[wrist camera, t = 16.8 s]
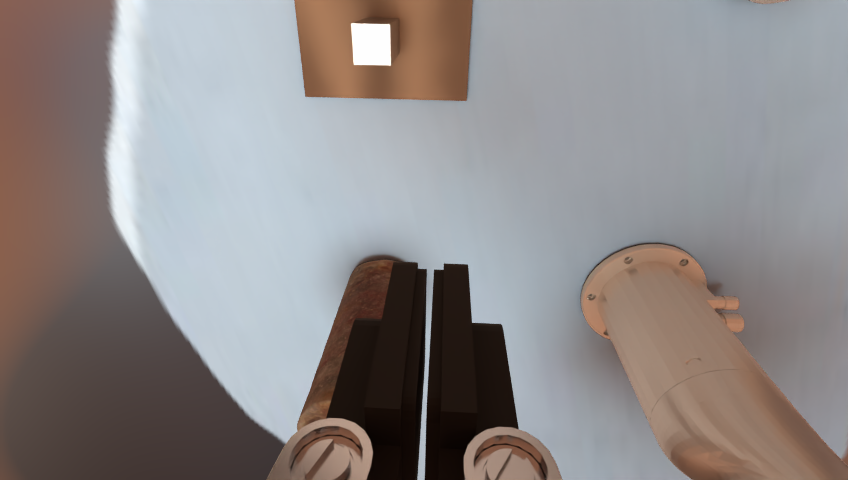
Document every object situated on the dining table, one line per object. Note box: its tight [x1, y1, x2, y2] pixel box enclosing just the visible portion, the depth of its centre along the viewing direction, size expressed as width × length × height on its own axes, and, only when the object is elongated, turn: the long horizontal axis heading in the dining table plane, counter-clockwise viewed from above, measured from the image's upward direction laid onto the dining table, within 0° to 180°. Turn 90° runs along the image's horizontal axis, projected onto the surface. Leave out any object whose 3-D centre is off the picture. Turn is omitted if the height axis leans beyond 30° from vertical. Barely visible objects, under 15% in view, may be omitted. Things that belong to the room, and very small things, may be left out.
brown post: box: [351, 17, 400, 66], centre depth 33 cm, size 3×3×6 cm
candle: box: [297, 260, 397, 431], centre depth 41 cm, size 8×7×20 cm
